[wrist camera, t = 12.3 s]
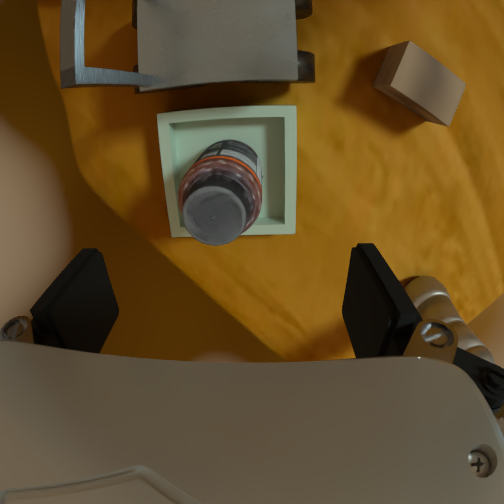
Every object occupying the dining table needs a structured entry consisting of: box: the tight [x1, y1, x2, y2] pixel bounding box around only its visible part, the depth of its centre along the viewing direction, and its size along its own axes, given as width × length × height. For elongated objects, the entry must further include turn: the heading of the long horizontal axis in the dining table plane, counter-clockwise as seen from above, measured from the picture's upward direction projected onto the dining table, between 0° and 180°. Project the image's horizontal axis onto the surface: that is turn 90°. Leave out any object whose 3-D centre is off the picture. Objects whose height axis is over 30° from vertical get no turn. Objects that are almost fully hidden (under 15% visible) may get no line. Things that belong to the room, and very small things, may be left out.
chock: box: [373, 41, 466, 127], centre depth 22 cm, size 7×5×4 cm
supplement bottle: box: [178, 139, 263, 246], centre depth 23 cm, size 6×6×11 cm
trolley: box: [60, 0, 315, 94], centre depth 15 cm, size 15×9×18 cm, turn 92°
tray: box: [157, 105, 297, 237], centre depth 28 cm, size 12×12×2 cm
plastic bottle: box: [404, 276, 495, 364], centre depth 27 cm, size 6×7×20 cm
